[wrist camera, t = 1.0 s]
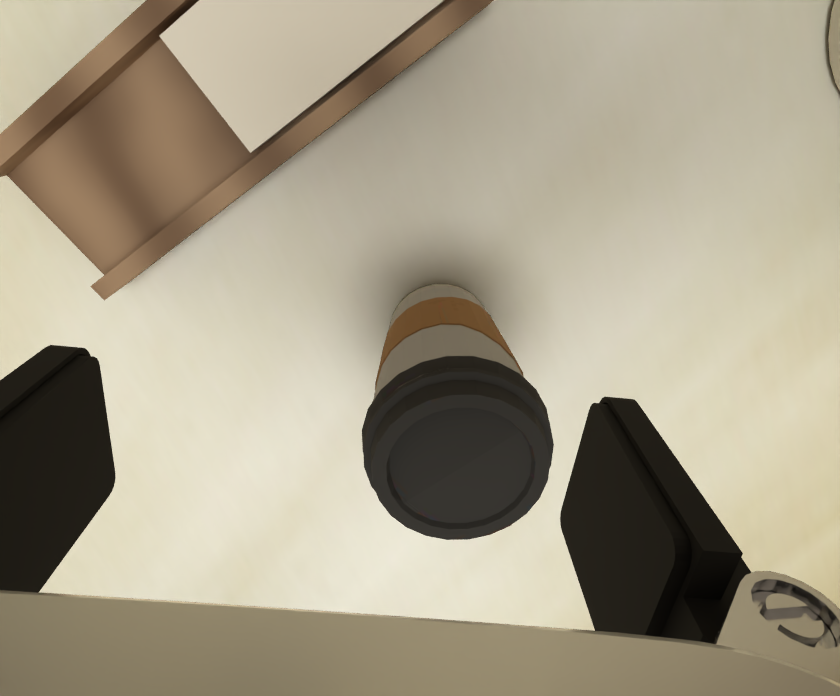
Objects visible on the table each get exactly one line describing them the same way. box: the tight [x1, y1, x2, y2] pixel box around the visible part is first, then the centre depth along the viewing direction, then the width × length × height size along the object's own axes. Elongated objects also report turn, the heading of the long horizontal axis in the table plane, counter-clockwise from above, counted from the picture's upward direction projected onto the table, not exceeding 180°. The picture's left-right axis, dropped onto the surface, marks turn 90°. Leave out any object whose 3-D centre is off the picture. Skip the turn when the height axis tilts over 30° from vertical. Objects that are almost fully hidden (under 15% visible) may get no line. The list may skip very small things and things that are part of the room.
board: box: [0, 0, 493, 300], centre depth 29 cm, size 26×9×3 cm, turn 125°
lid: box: [160, 0, 445, 153], centre depth 26 cm, size 14×6×3 cm, turn 125°
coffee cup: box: [362, 284, 554, 540], centre depth 30 cm, size 8×8×15 cm
